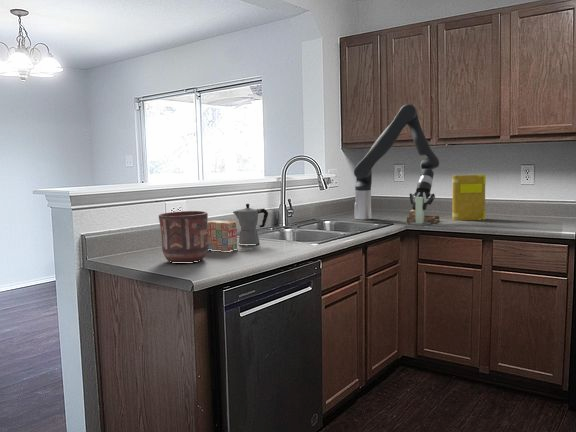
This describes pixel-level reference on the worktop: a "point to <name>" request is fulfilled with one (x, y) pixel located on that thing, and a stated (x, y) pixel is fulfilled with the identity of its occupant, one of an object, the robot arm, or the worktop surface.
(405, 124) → the robot arm
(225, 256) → the worktop surface
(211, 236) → the stack of blocks
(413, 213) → the offcut top
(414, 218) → the rack
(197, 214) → the pottery
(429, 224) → the mat
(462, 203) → the book
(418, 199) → the slat
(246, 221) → the coffeepot
